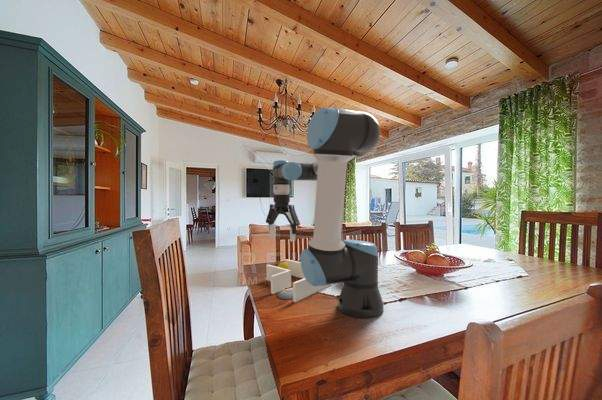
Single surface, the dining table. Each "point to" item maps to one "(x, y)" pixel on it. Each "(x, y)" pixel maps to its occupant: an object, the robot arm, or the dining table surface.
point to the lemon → (283, 265)
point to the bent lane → (283, 280)
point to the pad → (286, 295)
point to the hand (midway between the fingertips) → (282, 239)
